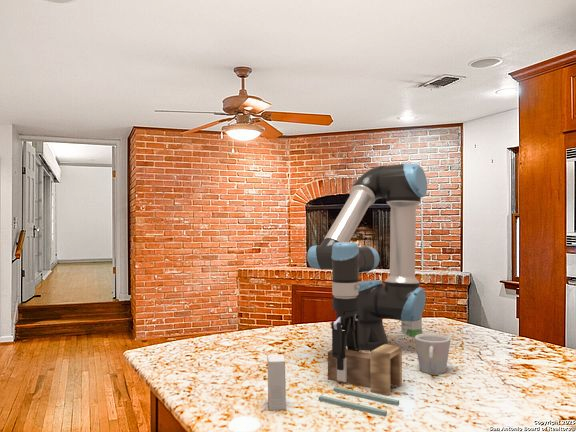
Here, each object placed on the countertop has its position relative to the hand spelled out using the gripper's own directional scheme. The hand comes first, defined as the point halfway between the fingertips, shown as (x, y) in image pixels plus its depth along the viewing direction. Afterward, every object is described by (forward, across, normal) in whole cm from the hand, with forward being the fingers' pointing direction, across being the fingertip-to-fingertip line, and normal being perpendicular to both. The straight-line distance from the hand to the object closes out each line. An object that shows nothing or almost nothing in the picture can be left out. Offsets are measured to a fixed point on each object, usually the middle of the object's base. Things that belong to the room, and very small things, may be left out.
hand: (346, 377), depth 140 cm
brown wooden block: (+1, 0, -3) cm, 3 cm away
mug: (+1, +20, -18) cm, 27 cm away
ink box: (+1, +62, +3) cm, 62 cm away
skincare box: (+1, -26, +6) cm, 27 cm away
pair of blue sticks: (+1, -13, -10) cm, 17 cm away
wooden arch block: (+1, 0, -12) cm, 12 cm away
